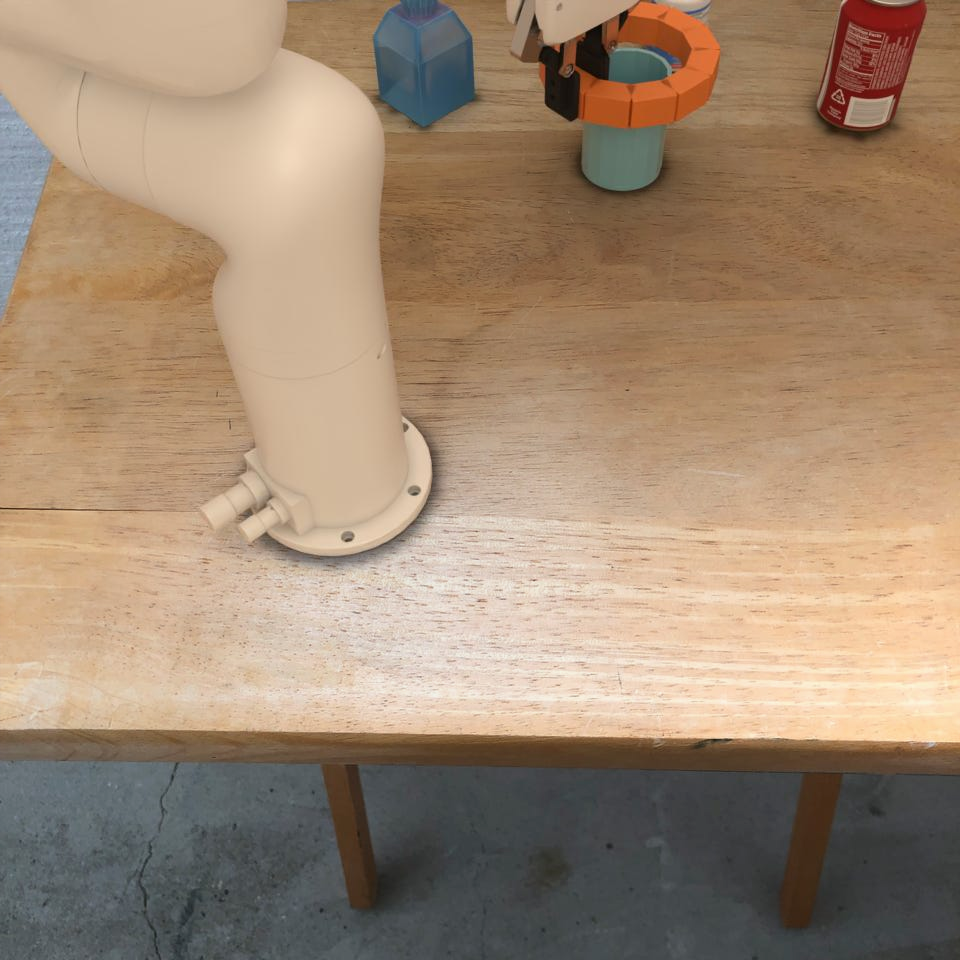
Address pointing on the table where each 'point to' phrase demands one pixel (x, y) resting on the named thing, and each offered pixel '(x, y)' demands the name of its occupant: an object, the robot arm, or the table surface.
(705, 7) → the pill bottle
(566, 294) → the table surface
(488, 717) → the table surface
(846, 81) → the soda can
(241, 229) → the robot arm
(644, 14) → the ring
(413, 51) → the perfume bottle
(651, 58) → the cup
